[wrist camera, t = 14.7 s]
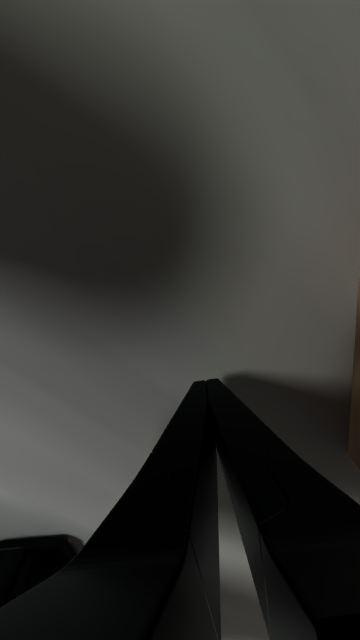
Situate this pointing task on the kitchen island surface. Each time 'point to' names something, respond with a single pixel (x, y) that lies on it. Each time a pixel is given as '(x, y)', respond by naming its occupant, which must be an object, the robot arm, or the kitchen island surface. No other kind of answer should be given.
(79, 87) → the kitchen island surface
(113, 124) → the kitchen island surface
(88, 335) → the kitchen island surface
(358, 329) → the slab
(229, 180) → the kitchen island surface
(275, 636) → the robot arm
